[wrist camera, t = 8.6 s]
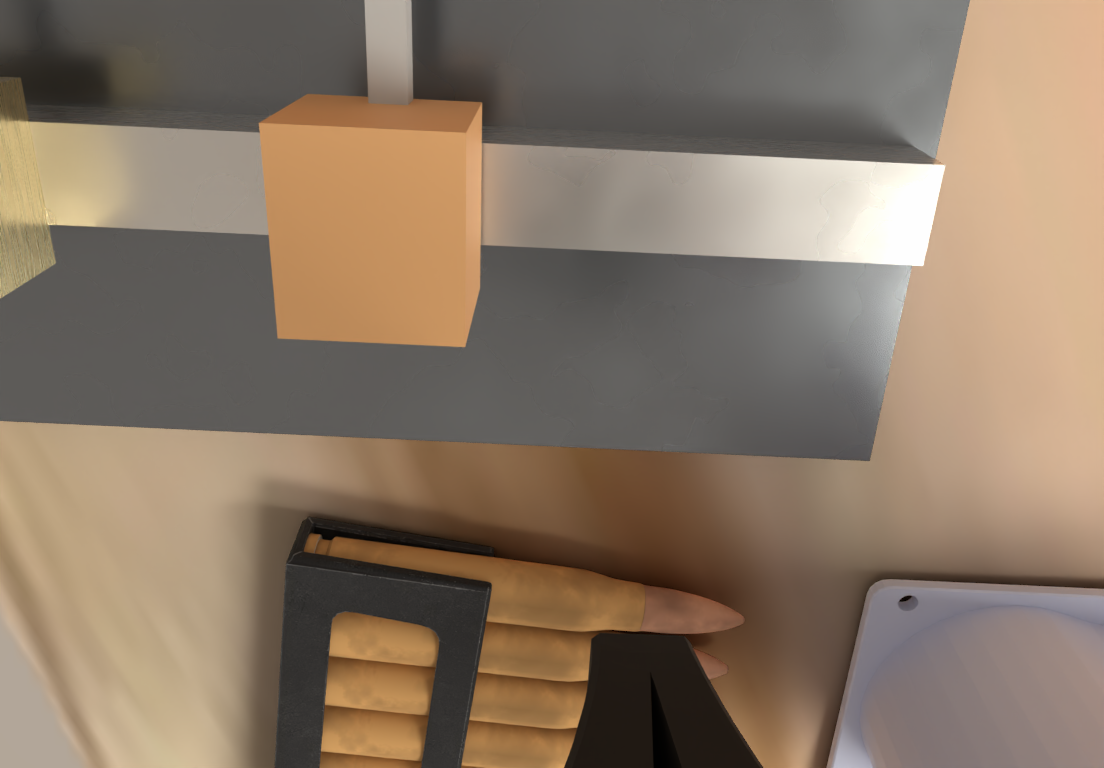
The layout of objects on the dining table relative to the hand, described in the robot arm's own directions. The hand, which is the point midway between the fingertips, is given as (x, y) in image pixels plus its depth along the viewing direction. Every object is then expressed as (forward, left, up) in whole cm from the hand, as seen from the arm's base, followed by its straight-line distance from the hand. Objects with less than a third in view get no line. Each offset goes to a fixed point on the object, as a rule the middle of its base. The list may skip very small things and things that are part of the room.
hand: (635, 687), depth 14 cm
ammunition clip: (+9, +9, -9) cm, 16 cm away
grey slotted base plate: (+5, -5, -10) cm, 13 cm away
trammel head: (+4, -7, -8) cm, 12 cm away
